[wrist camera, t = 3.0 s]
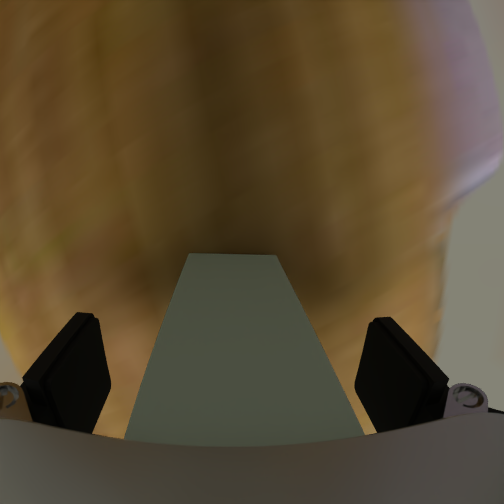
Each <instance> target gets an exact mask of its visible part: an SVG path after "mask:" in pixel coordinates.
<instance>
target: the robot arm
mask: <svg viewBox="0 0 504 504" xmlns="http://www.w3.org/2000/svg"><path fill="white" fill-rule="evenodd" d="M22 378H23V381H24V382H23V383H22V384H21V386H19V385H17V384H15V383H12V382H3V383H0V504H504V412H503V411H499V410H496V409H492V408H488V399H487V396H486V394H485V393H484V392H483V391H482V390H481V389H480V388H478V387H476V386H474V385H471V384H466V383H460V384H455V385H453V386H452V387H451V388H449V387H448V386H447V383H448V381H449V378H448V377H447V376H446V375H445V374H444V373H443V372H442V370H441V369H440V368H439V367H438V366H437V365H436V364H435V363H434V362H433V361H432V360H431V358H430V357H429V356H428V355H427V354H426V353H425V352H424V351H423V350H422V349H421V348H420V347H419V346H418V345H417V344H416V343H415V341H414V340H413V339H412V338H411V337H410V336H409V335H408V334H407V333H406V332H405V331H404V330H403V329H402V328H401V327H400V326H399V325H398V324H397V323H396V322H395V321H394V320H393V319H392V318H391V317H379V318H375V319H374V320H373V322H370V323H369V325H368V330H367V334H366V339H365V343H364V347H363V352H362V356H361V360H360V364H359V368H358V372H357V376H356V379H355V391H356V393H357V395H358V397H359V399H360V401H361V403H362V405H363V406H364V408H365V410H366V412H367V414H368V416H369V418H370V420H371V422H372V424H373V426H374V427H375V429H376V431H377V433H374V434H369V435H363V436H357V437H350V438H344V439H336V440H328V441H320V442H310V443H299V444H286V445H269V446H194V445H177V444H164V443H153V442H143V441H135V440H127V439H120V438H113V437H107V436H101V435H95V434H92V432H93V430H94V427H95V425H96V423H97V420H98V418H99V415H100V413H101V411H102V408H103V406H104V404H105V401H106V399H107V397H108V394H109V392H110V389H111V379H110V375H109V370H108V366H107V361H106V356H105V351H104V346H103V340H102V335H101V329H100V323H99V320H98V318H95V317H94V315H93V314H92V313H81V312H77V313H76V314H75V315H74V316H73V317H72V318H71V319H70V320H69V322H68V323H67V324H66V325H65V326H64V327H63V329H62V330H61V331H60V332H59V333H58V334H57V336H56V337H55V338H54V339H53V340H52V341H51V343H50V344H49V345H48V346H47V347H46V349H45V350H44V351H43V352H42V354H41V355H40V356H39V357H38V358H37V360H36V361H35V362H34V363H33V365H32V366H31V367H30V368H29V370H28V371H27V372H26V374H25V375H24V376H23V377H22Z"/></svg>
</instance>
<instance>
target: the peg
mask: <svg viewBox="0 0 504 504" xmlns="http://www.w3.org/2000/svg"><path fill="white" fill-rule="evenodd" d="M363 435H365V434H364V432H363V429H362V427H361V425H360V423H359V421H358V419H357V417H356V415H355V413H354V411H353V409H352V407H351V404H350V402H349V400H348V398H347V396H346V394H345V392H344V390H343V388H342V386H341V384H340V382H339V380H338V378H337V376H336V374H335V372H334V370H333V368H332V366H331V364H330V361H329V359H328V357H327V355H326V353H325V351H324V349H323V347H322V345H321V343H320V341H319V339H318V337H317V335H316V333H315V331H314V329H313V327H312V325H311V323H310V321H309V319H308V317H307V315H306V313H305V311H304V309H303V307H302V305H301V303H300V301H299V299H298V297H297V295H296V294H295V292H294V290H293V288H292V286H291V284H290V282H289V280H288V278H287V276H286V274H285V272H284V270H283V268H282V266H281V264H280V262H279V260H278V258H277V256H276V255H249V254H207V253H189V254H188V257H187V259H186V262H185V264H184V267H183V270H182V272H181V275H180V277H179V280H178V282H177V285H176V288H175V290H174V293H173V296H172V298H171V301H170V304H169V306H168V309H167V312H166V314H165V317H164V320H163V323H162V325H161V328H160V331H159V334H158V337H157V339H156V342H155V345H154V348H153V351H152V354H151V356H150V359H149V362H148V365H147V368H146V371H145V374H144V377H143V380H142V383H141V386H140V389H139V392H138V395H137V398H136V401H135V405H134V408H133V411H132V414H131V417H130V420H129V424H128V427H127V430H126V433H125V437H124V439H127V440H135V441H143V442H153V443H164V444H177V445H194V446H269V445H286V444H299V443H310V442H320V441H328V440H336V439H344V438H350V437H357V436H363Z"/></svg>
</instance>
